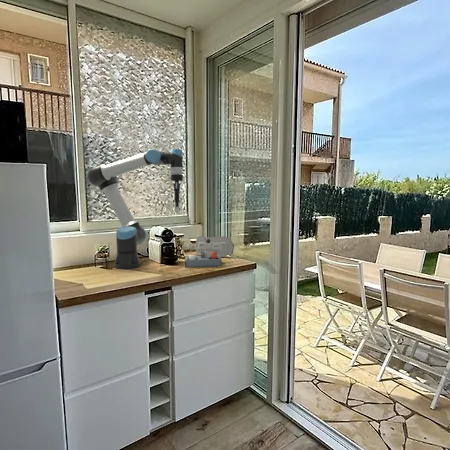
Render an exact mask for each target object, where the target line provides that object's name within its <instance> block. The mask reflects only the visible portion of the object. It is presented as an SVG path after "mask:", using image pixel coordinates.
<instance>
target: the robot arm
mask: <svg viewBox="0 0 450 450" xmlns="http://www.w3.org/2000/svg"><path fill="white" fill-rule="evenodd" d="M183 157H184V156H183V149H180V148H171V149H169V152H165V151H164V152H161V151H160V150H157V149H155V148H154V149H153V148H151V149H148V150H146V152H142V153H139V154H137V155H133V156H131V157H127V158H125V159H121V160H118V161H115V162H112V163H109V164H106V165H105V164H101V165H96V166H93V167H91V168H90V169H89V170H88V172H87V174H86V177H87V180H88V182H89V183H90V184H91V185H93V186H95V187H98V188H99V191H100V192H101V193H103V194H104V195H105V196H106V198H107V200H108V202H109V204H110V206H111V207H112V210H113V212H114V214H115V215H116V217H117V219H118V221H119V223H120V225H121V227H120V228H117V230H116V233H115V237H116V256H115V259H114V263H113V265H114V268H115V269H118V270H119V269H123V270H124V269H127V270H128V269H135V268H138V267H141V261H140V258H139V257H140V256H139V255H138V245H142V244H143V242H145V241H146V240H147V239H146V238H147V231H146V229H145V228H144V227H143V226H141V225H140V223H139V221H136V219H134V217H133V215H132V212H131V211H130V209H129V207H128V206H127V203H126V202H125V199H124V197H123V196H122V193H121V192H120V190H119V188H118V186H119V183H118V181H117V180H118V177H117V176H120V175H123V174H125V173H130V172H132V171H135V170H138V169H141V168H144V167H147V166H150V165H156V166H166V165H169V166H170V180H171V181H172V182H174V183H173V190H174V200H173V203H174V213H180V202H181V200H180V190H181V183H180V182H182V181H183V180H184V176H183V175H184V173H183V171H184V168H183V167H184V166H183V163H184V162H183V161H184V160H183V159H184V158H183Z"/></svg>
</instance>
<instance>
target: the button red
mask: <svg viewBox="0 0 450 450" xmlns="http://www.w3.org/2000/svg"><path fill="white" fill-rule="evenodd" d="M210 259H217V251H211V252H210Z"/></svg>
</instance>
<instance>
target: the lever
mask: <svg viewBox="0 0 450 450" xmlns="http://www.w3.org/2000/svg"><path fill="white" fill-rule="evenodd" d="M209 243H210V239H207V240H206V245H205V248H204V251H203V253H205V252H206V249H207V246H208V244H209Z"/></svg>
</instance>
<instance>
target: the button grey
mask: <svg viewBox="0 0 450 450" xmlns="http://www.w3.org/2000/svg"><path fill="white" fill-rule="evenodd" d="M188 256H189V260H196V256H197V255H196V254H189V255H188Z"/></svg>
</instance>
